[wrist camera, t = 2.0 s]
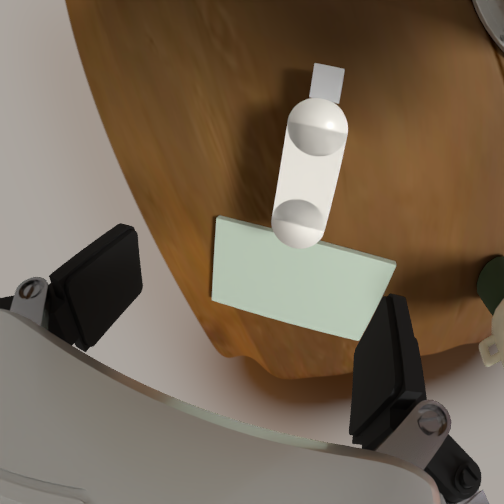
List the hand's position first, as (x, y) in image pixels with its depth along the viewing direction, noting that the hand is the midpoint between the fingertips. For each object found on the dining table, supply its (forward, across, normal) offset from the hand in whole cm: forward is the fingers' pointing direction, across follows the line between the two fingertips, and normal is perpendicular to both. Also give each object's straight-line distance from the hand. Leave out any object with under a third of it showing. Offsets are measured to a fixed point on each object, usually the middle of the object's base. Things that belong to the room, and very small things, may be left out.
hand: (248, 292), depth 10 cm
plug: (+19, -1, -2) cm, 20 cm away
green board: (+20, -2, +13) cm, 24 cm away
